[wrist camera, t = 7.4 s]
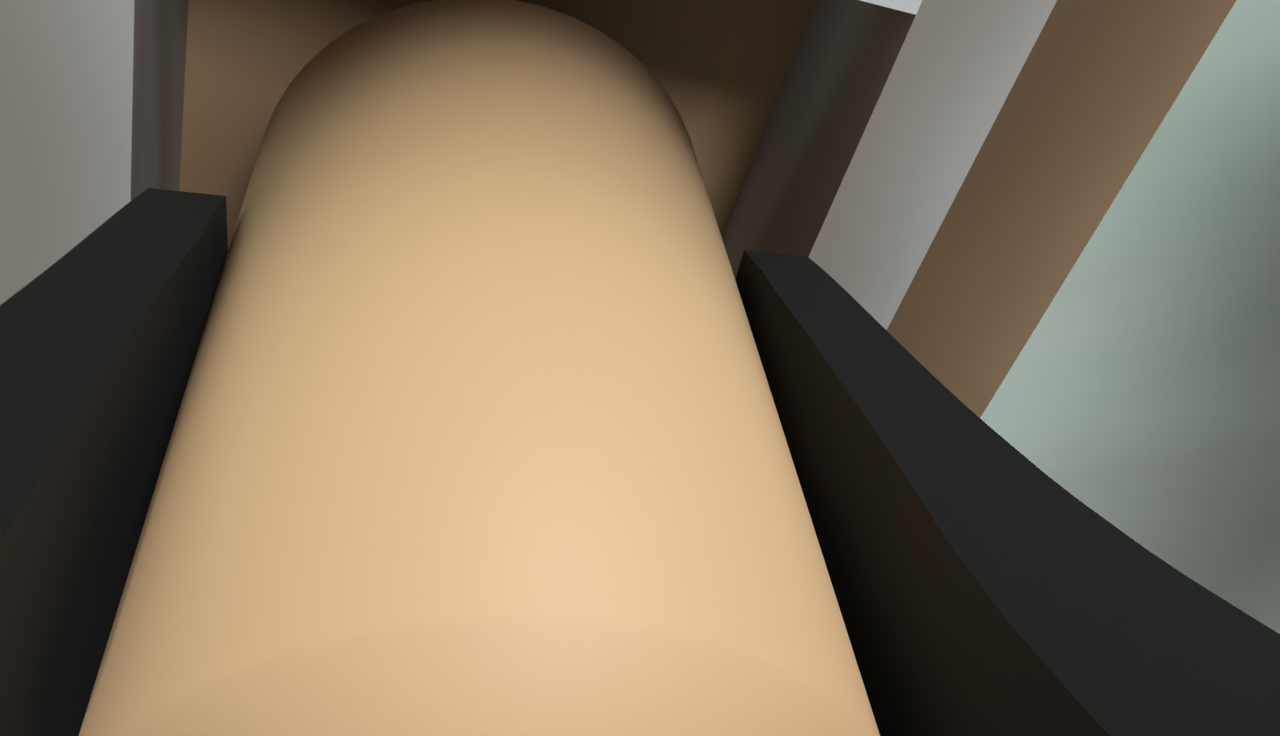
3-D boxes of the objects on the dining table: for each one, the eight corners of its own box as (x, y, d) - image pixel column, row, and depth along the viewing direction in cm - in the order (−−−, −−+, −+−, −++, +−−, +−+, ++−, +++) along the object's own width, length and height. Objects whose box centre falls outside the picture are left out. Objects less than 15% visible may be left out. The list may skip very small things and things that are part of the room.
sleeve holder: (1451, -476, 11) (1762, -447, 8) (834, 587, 20) (889, 761, 18) (-555, -1367, 7) (-1195, -1867, 4) (-180, 478, 16) (-310, 682, 14)
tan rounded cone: (745, 34, 11) (1029, 638, 5) (651, 394, 13) (774, 1043, 8) (255, -39, 10) (-19, 598, 4) (257, 363, 12) (87, 1074, 7)
